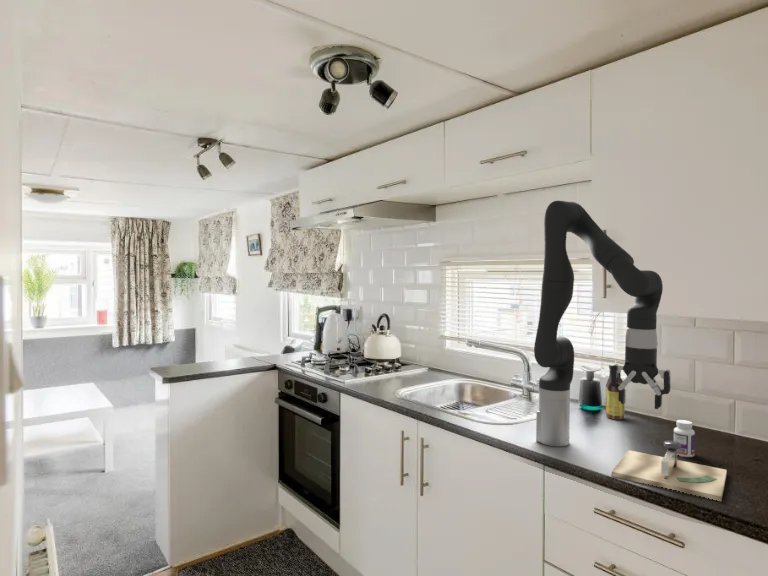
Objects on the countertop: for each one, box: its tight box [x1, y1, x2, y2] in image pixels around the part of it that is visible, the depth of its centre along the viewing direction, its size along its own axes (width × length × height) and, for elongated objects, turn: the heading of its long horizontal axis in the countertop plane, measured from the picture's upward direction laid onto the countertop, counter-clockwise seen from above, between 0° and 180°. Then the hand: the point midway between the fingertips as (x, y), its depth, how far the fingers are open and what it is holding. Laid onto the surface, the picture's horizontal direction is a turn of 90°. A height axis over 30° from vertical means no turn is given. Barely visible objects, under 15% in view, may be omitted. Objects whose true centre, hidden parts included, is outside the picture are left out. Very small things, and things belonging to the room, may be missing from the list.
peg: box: [661, 440, 681, 476], centre depth 131 cm, size 14×4×6 cm, turn 143°
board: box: [611, 449, 728, 503], centre depth 132 cm, size 24×20×1 cm
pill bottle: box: [673, 419, 696, 458], centre depth 147 cm, size 5×5×10 cm
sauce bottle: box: [605, 363, 626, 421], centre depth 184 cm, size 6×6×20 cm
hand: (639, 406), depth 134 cm, fingers open, 7 cm apart
